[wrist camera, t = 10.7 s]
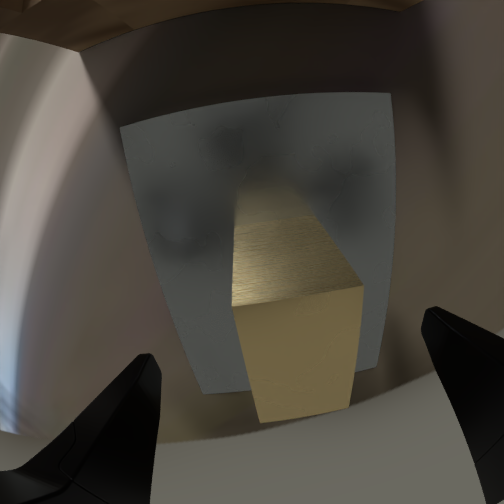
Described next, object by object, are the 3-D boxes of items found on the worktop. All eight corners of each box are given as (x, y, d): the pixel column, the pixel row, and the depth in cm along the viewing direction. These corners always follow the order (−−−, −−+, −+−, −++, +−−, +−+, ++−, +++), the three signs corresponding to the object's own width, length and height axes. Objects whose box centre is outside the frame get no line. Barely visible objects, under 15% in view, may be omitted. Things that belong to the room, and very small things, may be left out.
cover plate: (379, 94, 10) (482, 89, 4) (370, 355, 16) (406, 435, 10) (129, 126, 10) (35, 141, 4) (204, 381, 16) (197, 471, 10)
